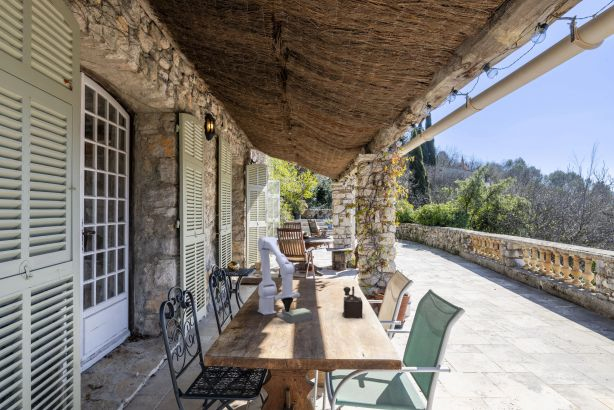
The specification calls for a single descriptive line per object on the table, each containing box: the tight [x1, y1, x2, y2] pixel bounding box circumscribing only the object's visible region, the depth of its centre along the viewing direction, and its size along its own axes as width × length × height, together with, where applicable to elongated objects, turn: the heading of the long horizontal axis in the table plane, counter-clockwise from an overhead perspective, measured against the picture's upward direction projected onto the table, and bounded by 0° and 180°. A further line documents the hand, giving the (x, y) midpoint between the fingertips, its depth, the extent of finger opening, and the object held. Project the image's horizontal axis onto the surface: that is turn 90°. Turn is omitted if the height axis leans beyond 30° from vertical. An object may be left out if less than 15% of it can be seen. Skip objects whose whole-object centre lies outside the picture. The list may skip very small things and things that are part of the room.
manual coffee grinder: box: [342, 286, 364, 319], centre depth 199 cm, size 16×11×18 cm
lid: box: [285, 307, 311, 316], centre depth 193 cm, size 7×12×3 cm, turn 124°
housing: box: [275, 307, 314, 324], centre depth 196 cm, size 16×14×4 cm
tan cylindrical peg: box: [290, 300, 295, 310], centre depth 200 cm, size 4×4×7 cm
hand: (287, 311), depth 189 cm, fingers closed
